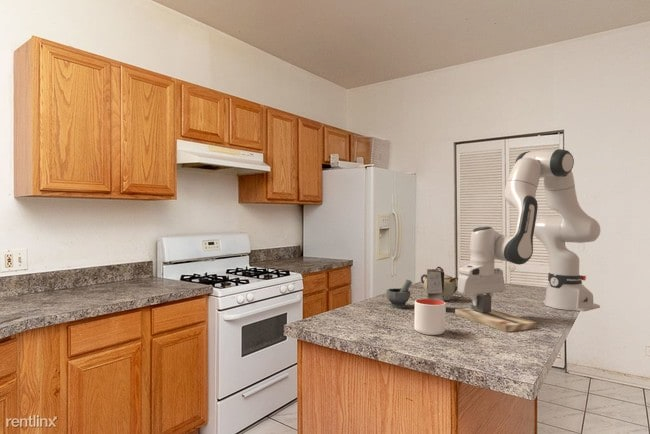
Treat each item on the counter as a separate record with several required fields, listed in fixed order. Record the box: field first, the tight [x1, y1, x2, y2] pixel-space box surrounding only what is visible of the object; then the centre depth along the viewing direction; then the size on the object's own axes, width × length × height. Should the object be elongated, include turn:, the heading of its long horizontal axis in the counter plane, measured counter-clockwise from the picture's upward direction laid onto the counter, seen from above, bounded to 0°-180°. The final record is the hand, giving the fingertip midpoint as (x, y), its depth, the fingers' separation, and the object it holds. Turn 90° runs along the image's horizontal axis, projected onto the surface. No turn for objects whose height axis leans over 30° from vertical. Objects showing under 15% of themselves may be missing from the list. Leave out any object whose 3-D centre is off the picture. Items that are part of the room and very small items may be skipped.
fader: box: [471, 293, 492, 313], centre depth 154 cm, size 4×6×6 cm, turn 22°
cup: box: [414, 298, 447, 336], centre depth 133 cm, size 10×10×10 cm
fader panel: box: [454, 307, 537, 333], centre depth 148 cm, size 14×25×2 cm, turn 22°
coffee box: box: [426, 268, 445, 302], centre depth 166 cm, size 9×6×16 cm
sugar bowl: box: [420, 266, 458, 301], centre depth 186 cm, size 20×15×15 cm
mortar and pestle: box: [386, 279, 413, 309], centre depth 168 cm, size 11×9×12 cm
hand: (481, 304), depth 154 cm, fingers closed on fader, 4 cm apart
